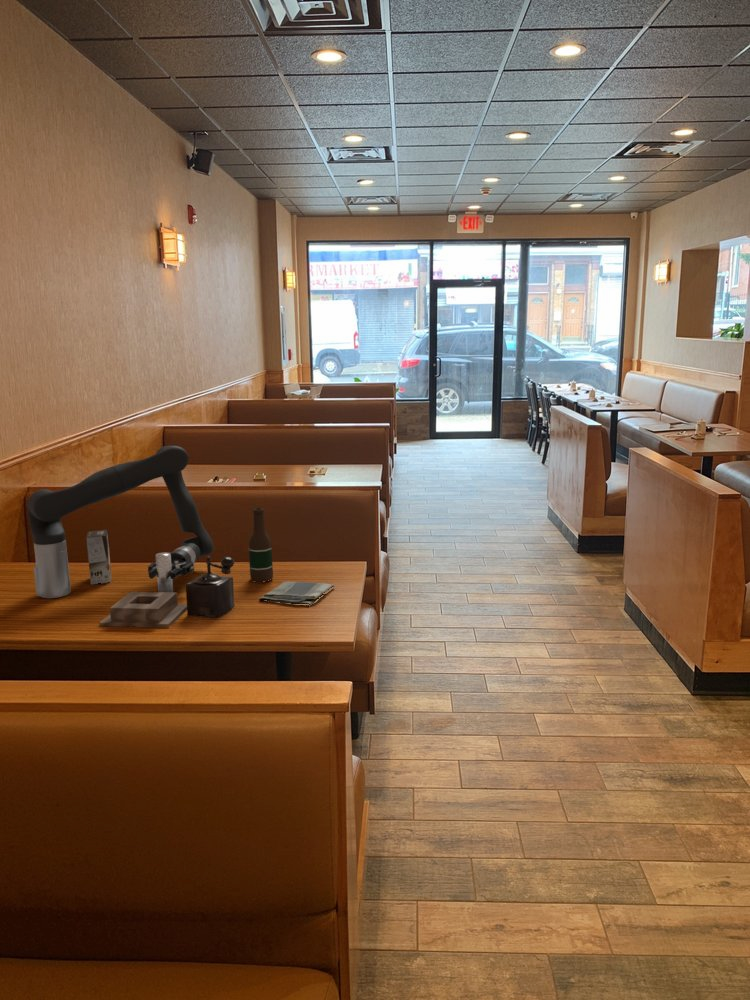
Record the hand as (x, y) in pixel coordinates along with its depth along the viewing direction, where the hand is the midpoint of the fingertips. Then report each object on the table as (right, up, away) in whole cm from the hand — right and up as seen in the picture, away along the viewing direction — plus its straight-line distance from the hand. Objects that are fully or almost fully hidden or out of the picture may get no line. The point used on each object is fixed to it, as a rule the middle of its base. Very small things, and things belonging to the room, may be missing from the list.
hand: (161, 575), depth 230 cm
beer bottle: (+27, -4, +21) cm, 35 cm away
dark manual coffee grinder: (+19, -10, -9) cm, 23 cm away
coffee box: (-27, -4, +24) cm, 36 cm away
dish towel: (+41, -7, +5) cm, 42 cm away
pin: (0, -7, +4) cm, 8 cm away
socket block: (-1, -11, -12) cm, 16 cm away
